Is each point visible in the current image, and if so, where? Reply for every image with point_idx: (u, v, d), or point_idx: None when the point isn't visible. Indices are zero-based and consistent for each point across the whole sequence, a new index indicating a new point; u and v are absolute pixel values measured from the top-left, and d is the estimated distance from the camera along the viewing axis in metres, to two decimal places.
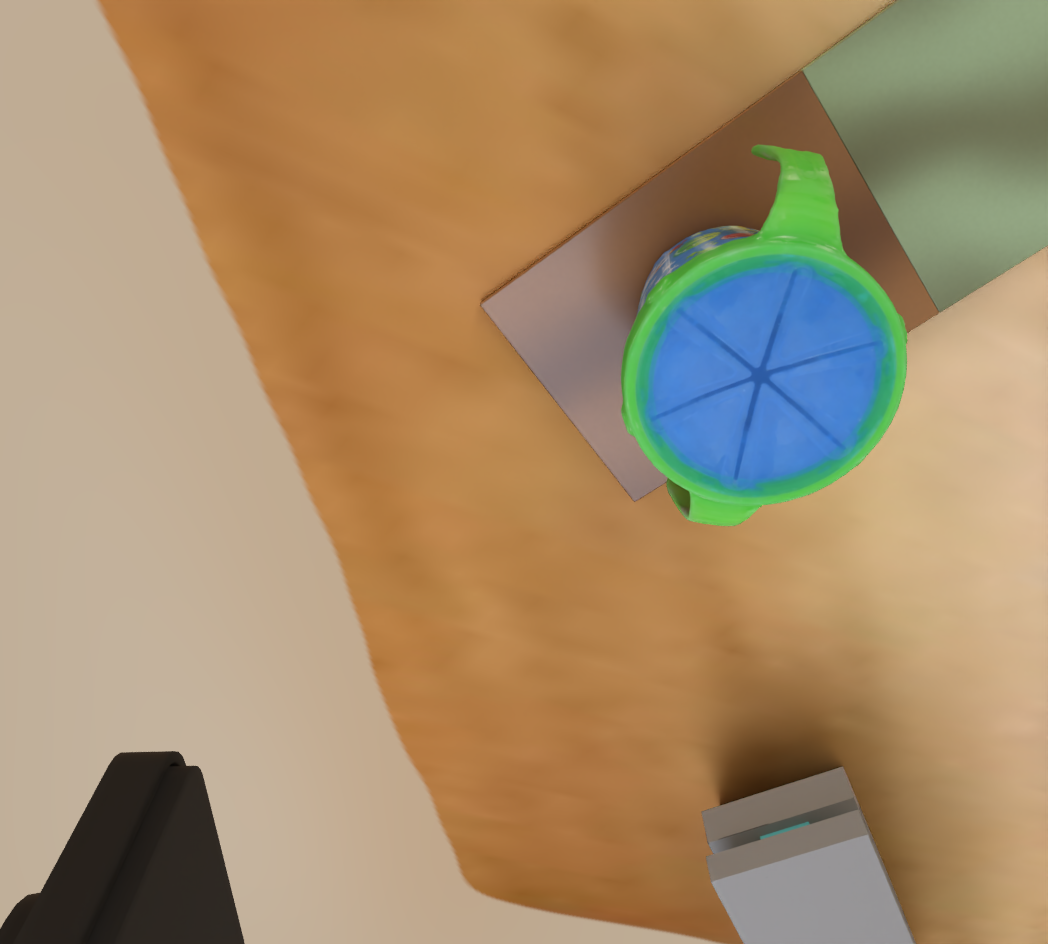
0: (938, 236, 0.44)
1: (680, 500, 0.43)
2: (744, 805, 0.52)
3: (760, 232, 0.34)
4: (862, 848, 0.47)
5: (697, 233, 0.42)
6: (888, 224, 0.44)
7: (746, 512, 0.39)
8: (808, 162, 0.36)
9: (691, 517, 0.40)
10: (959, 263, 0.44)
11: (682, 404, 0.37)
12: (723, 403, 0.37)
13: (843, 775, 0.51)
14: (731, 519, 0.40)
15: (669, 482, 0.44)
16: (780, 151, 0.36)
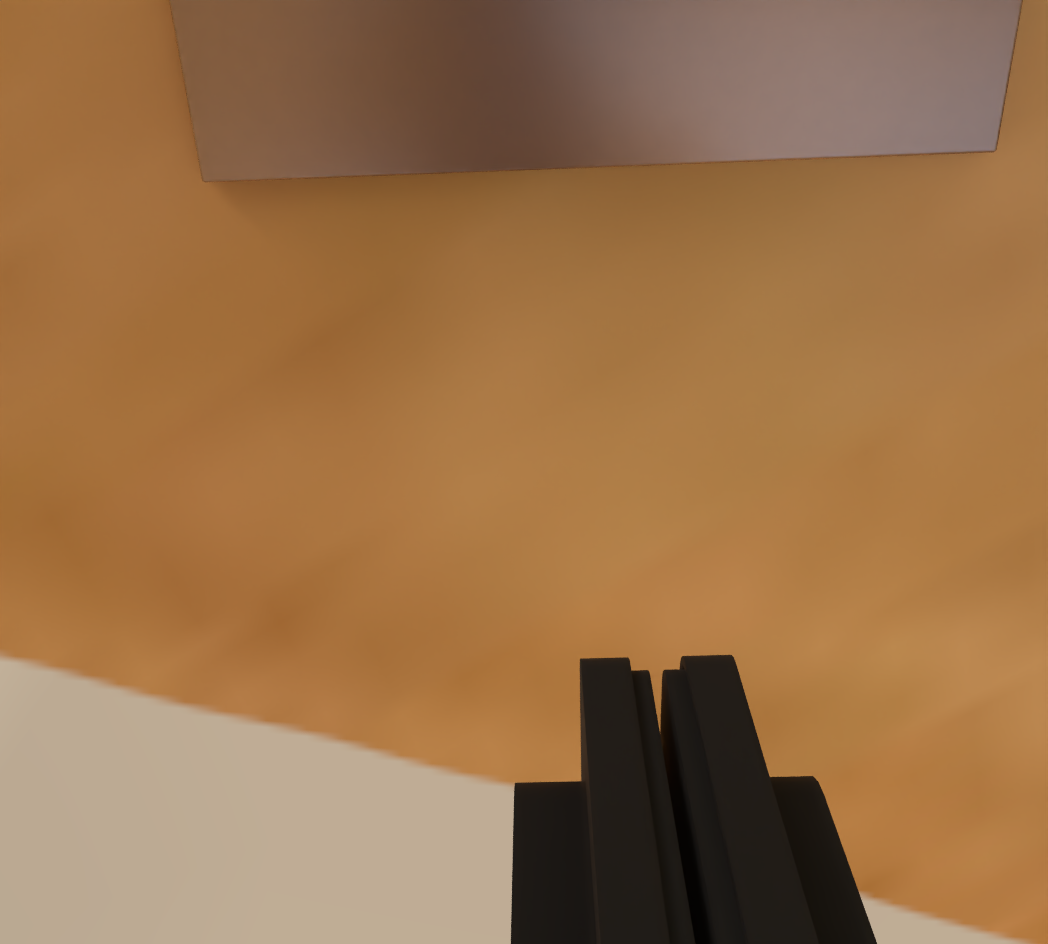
0: None
1: None
2: None
3: None
4: None
5: None
6: None
7: None
8: None
9: None
10: None
11: None
12: None
13: None
14: None
15: None
16: None
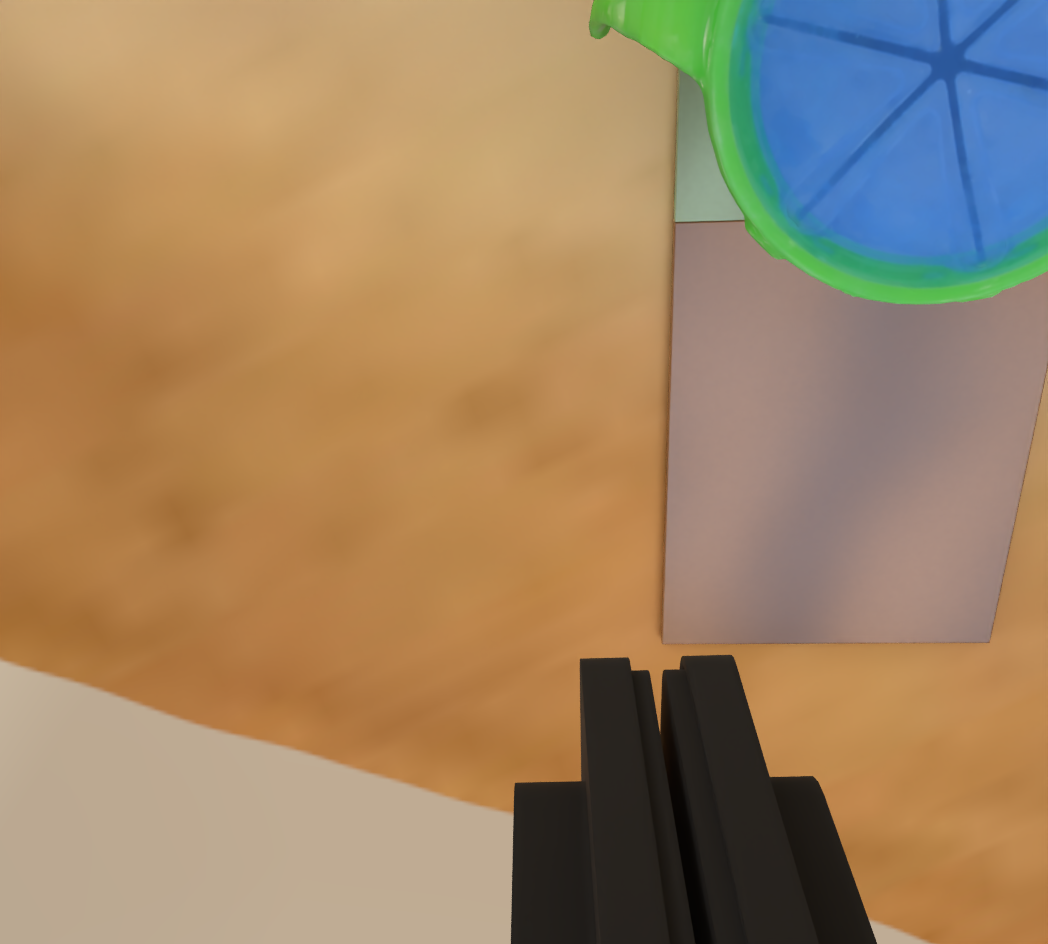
0: None
1: None
2: None
3: (694, 78, 0.21)
4: None
5: None
6: None
7: None
8: None
9: None
10: None
11: (968, 203, 0.22)
12: (985, 129, 0.22)
13: None
14: None
15: None
16: (592, 14, 0.24)
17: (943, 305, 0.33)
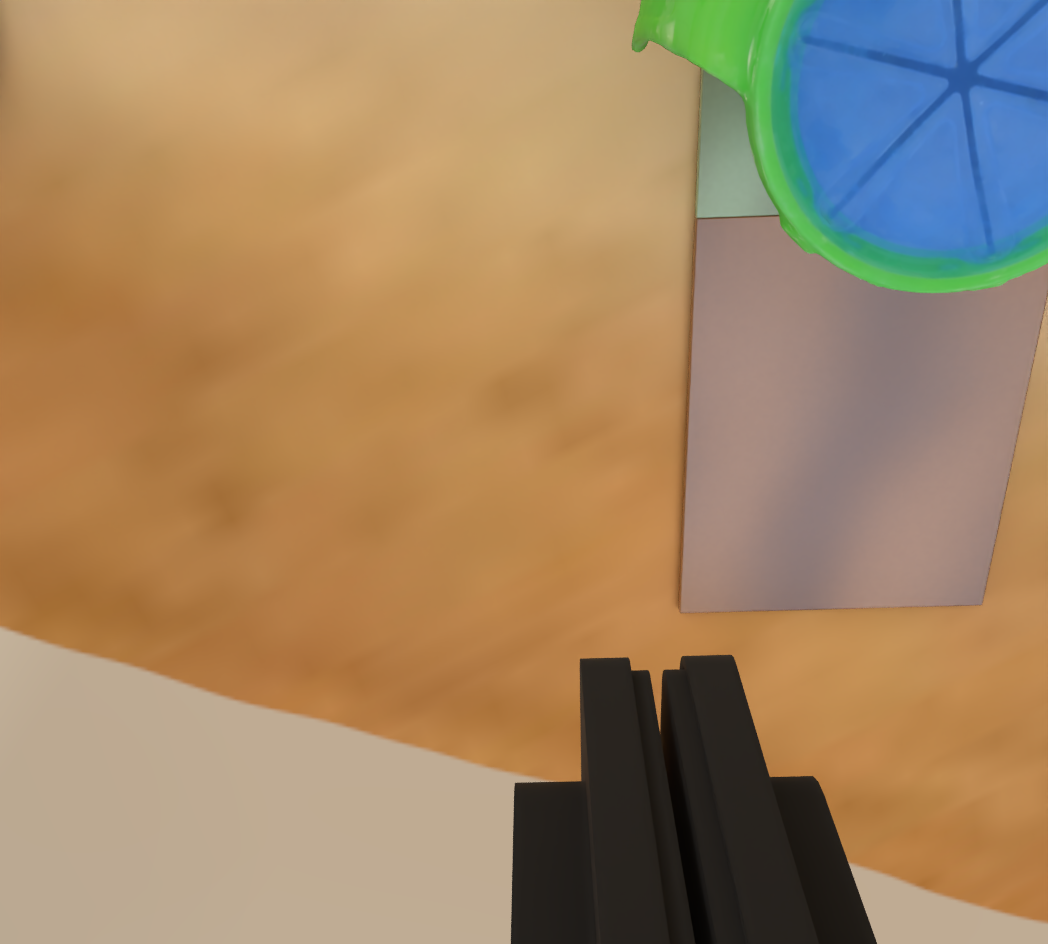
0: None
1: None
2: None
3: (738, 92, 0.24)
4: None
5: None
6: None
7: None
8: None
9: None
10: None
11: (981, 202, 0.25)
12: (995, 136, 0.24)
13: None
14: None
15: None
16: (638, 31, 0.26)
17: None
